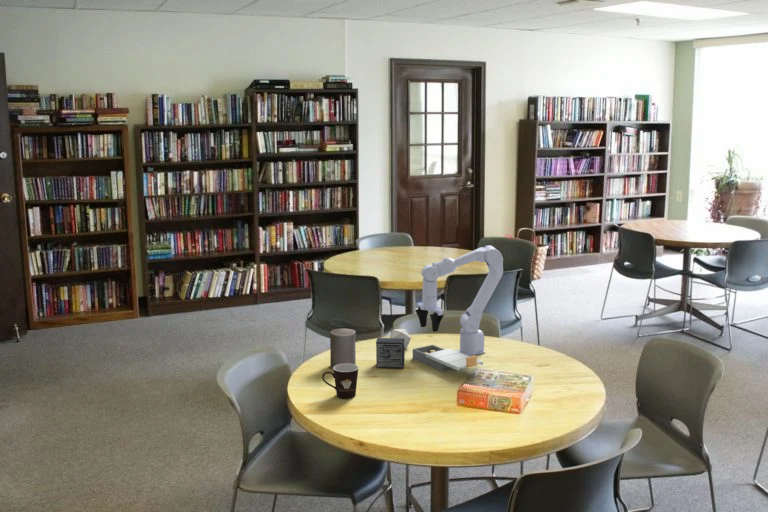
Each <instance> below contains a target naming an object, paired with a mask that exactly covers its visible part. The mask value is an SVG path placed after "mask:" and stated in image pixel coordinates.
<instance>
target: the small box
mask: <svg viewBox="0 0 768 512" xmlns="http://www.w3.org/2000/svg"><path fill="white" fill-rule="evenodd" d="M375 344H376V345H375V346H376V347H375V348H376V349H375V350H376V352H375V353H376V355H375V358H376V361H375V362H376V367H375V368H376V369H390V370H391V369H392V370H393V369H395V370H403V369H404V368H405V364H406V362H405V351H406V349H404V338H390V337H377V338H376V341H375Z"/></svg>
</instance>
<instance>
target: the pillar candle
mask: <svg viewBox="0 0 768 512" xmlns="http://www.w3.org/2000/svg"><path fill="white" fill-rule="evenodd" d="M329 336H330V337H329V340H330V341H329V344H330V347H329V348H330V349H329V350H330V360H329V361H330V365H329V366H330V368H331V369H332V370H333V367H334V366H335V365H338V364H354V365H357V364H356V358H357V357H356V352H357V351H356V330H354V329H351V328H345V327H344V328H336V329H335V328H334V329H332V330H331V331H330V333H329Z"/></svg>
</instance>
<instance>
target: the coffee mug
mask: <svg viewBox="0 0 768 512" xmlns="http://www.w3.org/2000/svg"><path fill="white" fill-rule="evenodd" d="M326 374H330V375H331V376H332V378H333V380H334V385H335V386H334V385H333V384H331V383H329V382H327V381H326V379H325V378H324V377H325V375H326ZM358 376H359V366H358V365H357V364H356V365H354V364H338V365H335V366H334V367H333V369H332V372H331V371H325V372H323V374H322V377H321V379H322V381H323V382H324V383H325V384H326V385H328V386H329V387H332V388H333V389H334V390H335V392H336V397H337V398H338V399H341V400H350V399H351V400H352V399H354V398H355V397H356V394H357V384H358Z"/></svg>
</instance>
